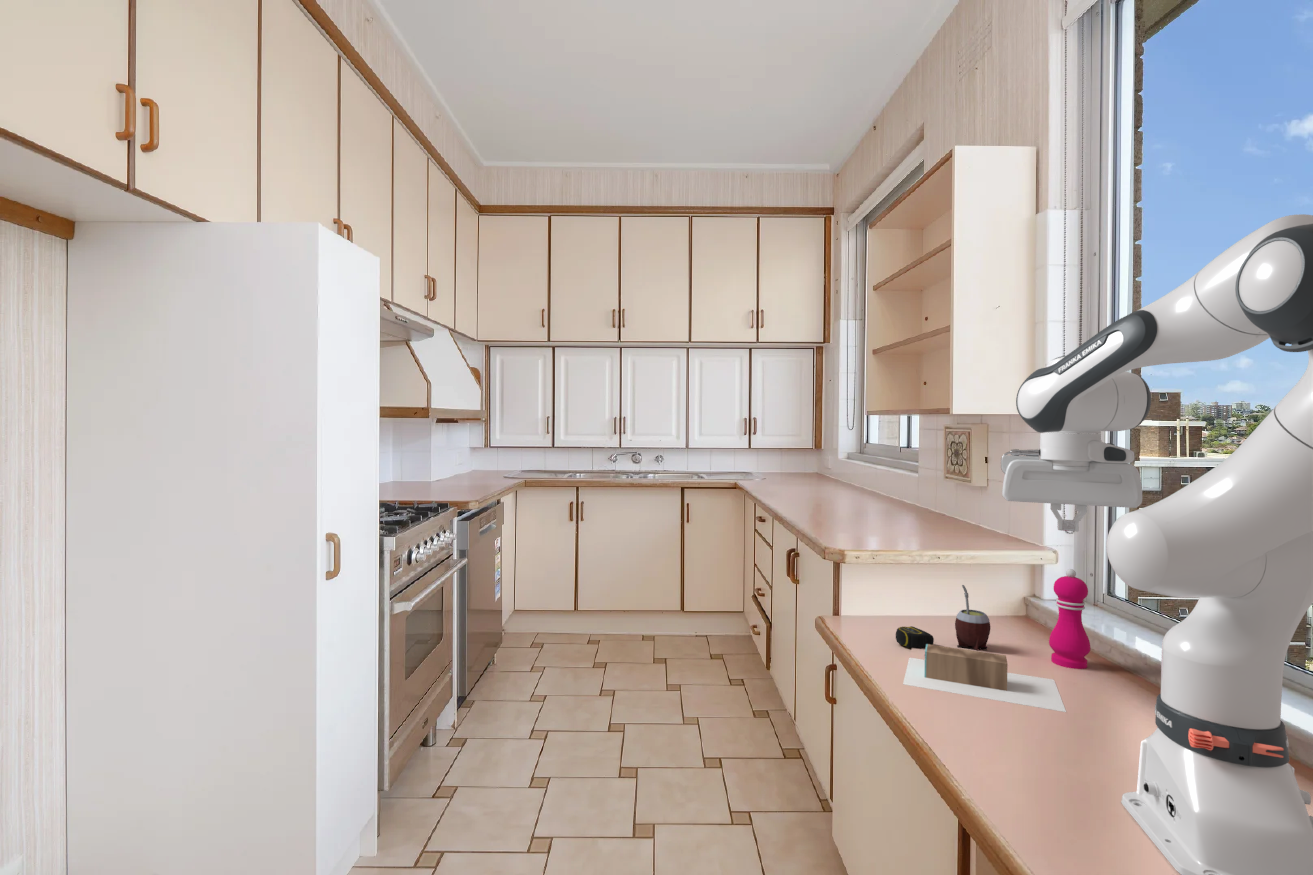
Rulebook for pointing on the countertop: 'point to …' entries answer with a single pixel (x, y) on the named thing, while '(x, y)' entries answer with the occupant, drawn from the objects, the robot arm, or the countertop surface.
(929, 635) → the tape measure
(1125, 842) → the countertop surface
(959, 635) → the mate gourd
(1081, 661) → the pepper mill
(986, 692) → the white flat rectangular panel
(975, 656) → the walnut block
